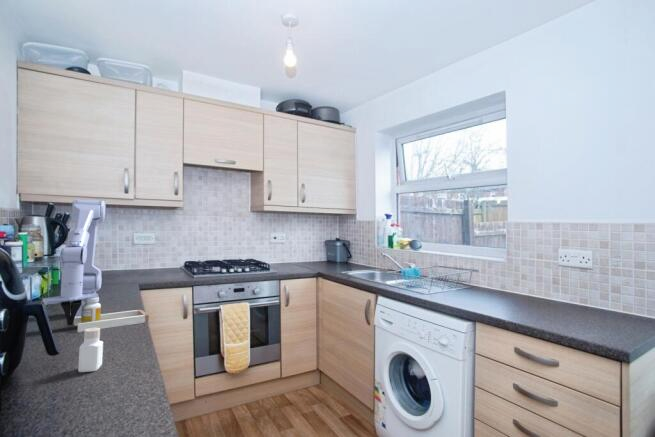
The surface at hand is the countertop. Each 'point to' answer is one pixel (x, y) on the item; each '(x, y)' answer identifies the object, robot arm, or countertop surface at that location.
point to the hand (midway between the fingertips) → (69, 324)
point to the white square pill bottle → (90, 351)
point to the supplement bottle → (91, 310)
